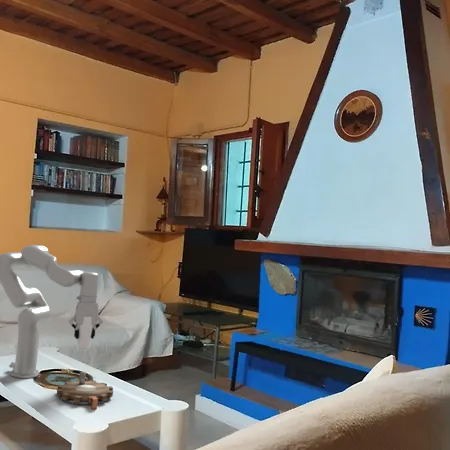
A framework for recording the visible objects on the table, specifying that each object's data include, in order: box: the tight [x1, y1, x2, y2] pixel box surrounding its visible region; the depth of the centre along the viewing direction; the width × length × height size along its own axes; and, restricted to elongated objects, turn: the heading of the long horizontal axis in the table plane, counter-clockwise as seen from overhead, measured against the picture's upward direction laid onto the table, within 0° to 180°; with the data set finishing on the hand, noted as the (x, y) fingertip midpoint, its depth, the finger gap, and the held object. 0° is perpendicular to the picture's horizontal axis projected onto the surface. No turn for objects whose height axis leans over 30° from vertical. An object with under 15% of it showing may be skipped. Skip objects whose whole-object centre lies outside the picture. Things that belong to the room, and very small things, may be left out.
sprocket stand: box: [57, 395, 112, 410], centre depth 225 cm, size 24×22×4 cm
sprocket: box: [56, 371, 114, 403], centre depth 226 cm, size 24×24×7 cm
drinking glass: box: [77, 317, 93, 350], centre depth 239 cm, size 7×7×15 cm
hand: (84, 337), depth 239 cm, fingers closed on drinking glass, 6 cm apart
